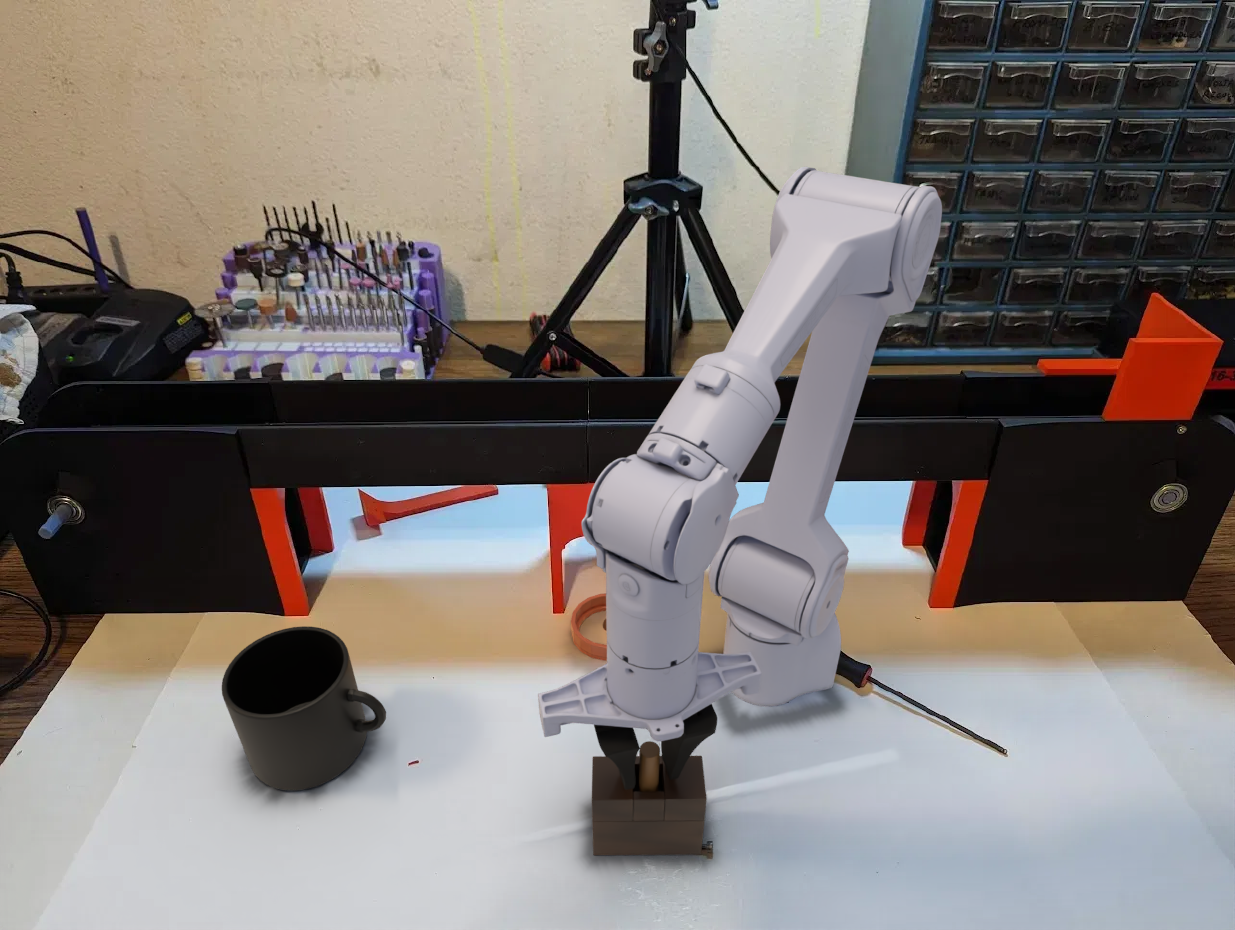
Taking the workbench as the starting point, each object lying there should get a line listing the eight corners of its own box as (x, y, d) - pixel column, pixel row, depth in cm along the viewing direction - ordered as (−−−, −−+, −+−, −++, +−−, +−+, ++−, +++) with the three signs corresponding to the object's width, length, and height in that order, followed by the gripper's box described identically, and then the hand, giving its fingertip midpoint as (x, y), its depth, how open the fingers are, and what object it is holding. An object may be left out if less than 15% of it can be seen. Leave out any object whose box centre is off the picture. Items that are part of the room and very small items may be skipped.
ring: (635, 609, 81) (636, 587, 80) (656, 662, 75) (657, 639, 74) (565, 622, 80) (564, 599, 78) (581, 677, 74) (580, 654, 72)
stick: (655, 790, 59) (657, 739, 56) (659, 807, 58) (661, 756, 55) (637, 793, 59) (638, 742, 56) (640, 810, 58) (641, 759, 55)
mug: (374, 801, 63) (353, 726, 58) (228, 787, 64) (196, 712, 59) (412, 706, 71) (396, 632, 66) (281, 694, 72) (257, 621, 67)
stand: (696, 810, 63) (702, 755, 59) (701, 855, 60) (706, 799, 56) (594, 811, 63) (592, 756, 59) (593, 855, 60) (591, 800, 56)
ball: (613, 611, 79) (610, 611, 77) (626, 625, 78) (624, 625, 76) (600, 625, 79) (597, 625, 77) (613, 638, 78) (611, 639, 76)
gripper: (548, 708, 45) (558, 847, 52) (789, 659, 48) (766, 798, 55) (528, 620, 51) (539, 757, 58) (744, 582, 54) (729, 717, 61)
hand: (648, 772), depth 57 cm, fingers open, 3 cm apart
